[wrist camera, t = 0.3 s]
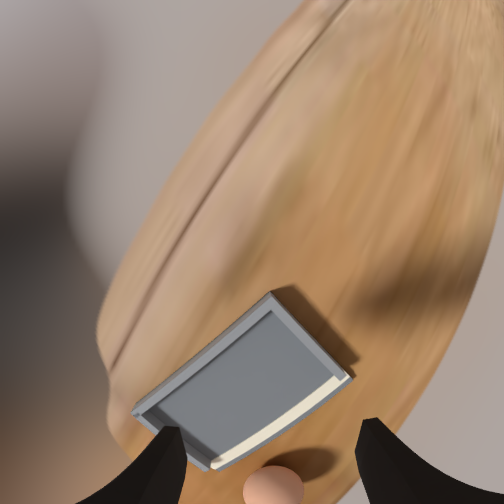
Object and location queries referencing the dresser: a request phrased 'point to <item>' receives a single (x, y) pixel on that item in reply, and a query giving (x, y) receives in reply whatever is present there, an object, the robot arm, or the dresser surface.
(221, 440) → the grey shallow tray
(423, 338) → the dresser surface
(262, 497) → the ball
